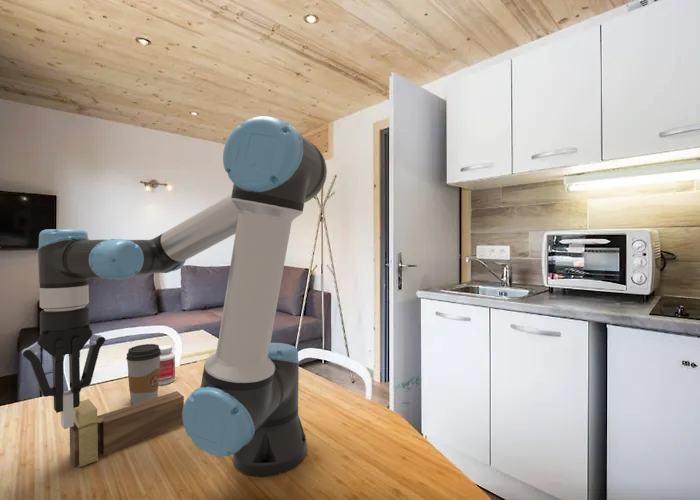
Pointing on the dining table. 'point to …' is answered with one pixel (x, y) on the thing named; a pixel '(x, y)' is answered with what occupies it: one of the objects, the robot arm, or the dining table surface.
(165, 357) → the pill bottle
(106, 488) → the dining table surface
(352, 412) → the dining table surface
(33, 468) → the dining table surface
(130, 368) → the coffee cup
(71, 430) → the base
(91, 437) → the lock collar
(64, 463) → the dining table surface
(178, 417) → the tong arm
